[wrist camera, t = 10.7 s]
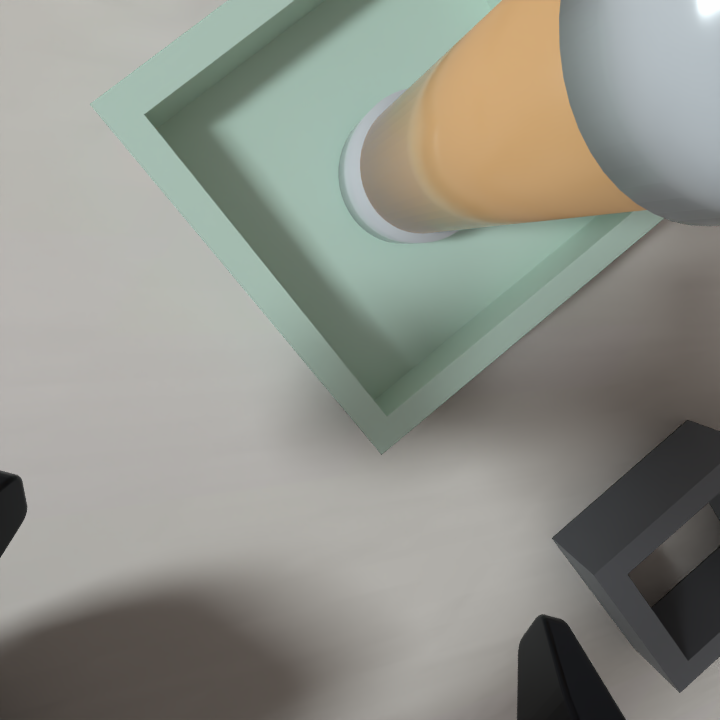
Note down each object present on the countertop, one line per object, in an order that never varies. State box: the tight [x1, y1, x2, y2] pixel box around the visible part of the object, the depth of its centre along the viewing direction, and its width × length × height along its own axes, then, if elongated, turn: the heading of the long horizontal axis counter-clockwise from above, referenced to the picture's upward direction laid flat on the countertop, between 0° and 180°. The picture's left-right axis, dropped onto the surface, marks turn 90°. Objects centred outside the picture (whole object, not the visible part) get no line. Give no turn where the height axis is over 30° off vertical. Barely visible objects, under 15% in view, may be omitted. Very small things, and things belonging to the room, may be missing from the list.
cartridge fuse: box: [338, 0, 720, 244], centre depth 12 cm, size 5×5×15 cm
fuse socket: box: [552, 420, 720, 693], centre depth 25 cm, size 9×9×3 cm
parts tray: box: [90, 0, 664, 455], centre depth 18 cm, size 14×14×3 cm
